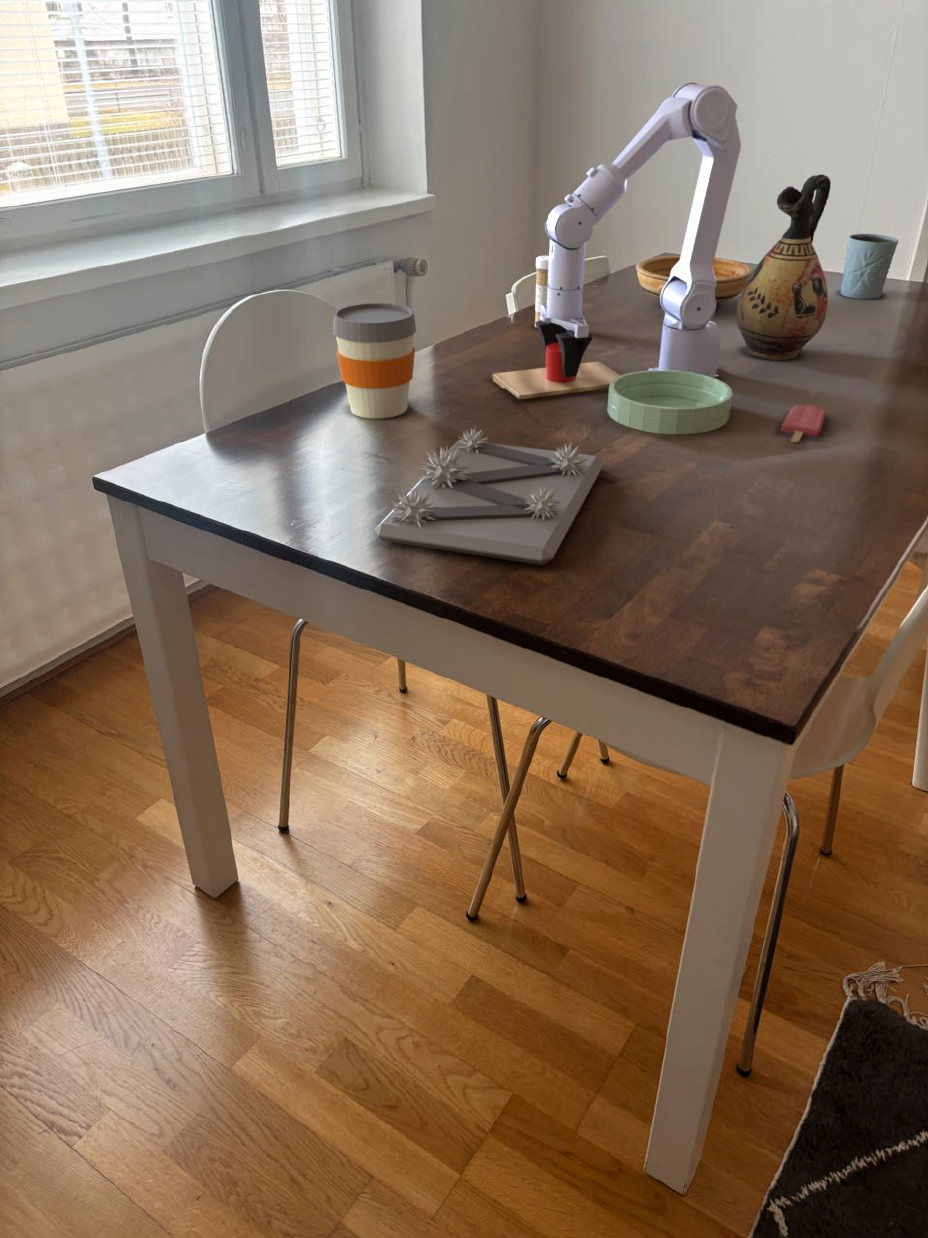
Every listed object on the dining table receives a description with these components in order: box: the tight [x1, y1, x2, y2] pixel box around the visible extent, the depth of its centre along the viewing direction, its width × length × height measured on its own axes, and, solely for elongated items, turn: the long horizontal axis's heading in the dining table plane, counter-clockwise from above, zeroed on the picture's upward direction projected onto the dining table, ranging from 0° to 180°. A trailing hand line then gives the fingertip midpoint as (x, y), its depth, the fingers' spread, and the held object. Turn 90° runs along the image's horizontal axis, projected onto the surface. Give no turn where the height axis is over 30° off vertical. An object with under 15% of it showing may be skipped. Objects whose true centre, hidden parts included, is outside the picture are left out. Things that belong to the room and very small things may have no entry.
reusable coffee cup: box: [332, 302, 417, 420], centre depth 147 cm, size 13×13×15 cm
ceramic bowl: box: [635, 255, 754, 305], centre depth 204 cm, size 30×24×8 cm
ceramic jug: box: [736, 173, 832, 361], centre depth 168 cm, size 17×15×30 cm
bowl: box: [606, 369, 734, 436], centre depth 146 cm, size 18×18×4 cm
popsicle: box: [780, 404, 827, 444], centre depth 142 cm, size 5×2×15 cm
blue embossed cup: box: [840, 233, 899, 300], centre depth 210 cm, size 10×10×12 cm
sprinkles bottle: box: [534, 255, 549, 329], centre depth 188 cm, size 5×5×13 cm
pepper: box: [545, 343, 576, 382], centre depth 159 cm, size 5×5×7 cm
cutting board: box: [492, 361, 622, 400], centre depth 161 cm, size 20×12×1 cm, turn 109°
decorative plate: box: [373, 427, 605, 566], centre depth 119 cm, size 30×22×7 cm
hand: (561, 370), depth 160 cm, fingers open, 6 cm apart
